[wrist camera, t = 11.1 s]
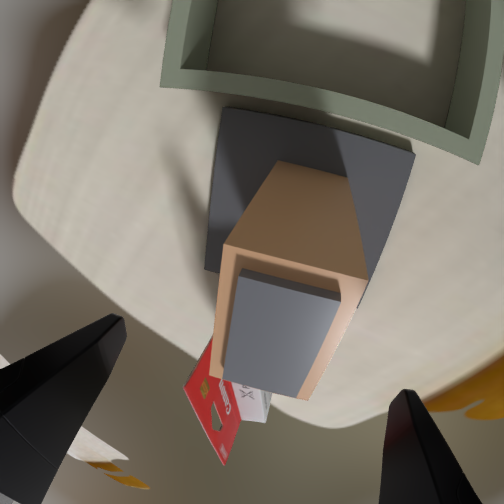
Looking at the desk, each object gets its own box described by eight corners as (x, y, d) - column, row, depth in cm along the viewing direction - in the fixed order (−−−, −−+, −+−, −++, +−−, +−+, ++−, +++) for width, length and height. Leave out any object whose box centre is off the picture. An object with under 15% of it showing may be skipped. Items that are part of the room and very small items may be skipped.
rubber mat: (413, 152, 15) (415, 154, 15) (357, 303, 21) (357, 308, 20) (225, 106, 16) (222, 107, 16) (207, 264, 22) (204, 269, 22)
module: (347, 177, 16) (370, 289, 8) (321, 266, 19) (306, 408, 11) (277, 160, 17) (219, 251, 8) (260, 251, 20) (205, 382, 11)
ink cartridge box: (266, 279, 22) (227, 394, 13) (277, 377, 27) (254, 472, 19) (232, 278, 22) (180, 386, 14) (251, 375, 28) (223, 466, 19)
